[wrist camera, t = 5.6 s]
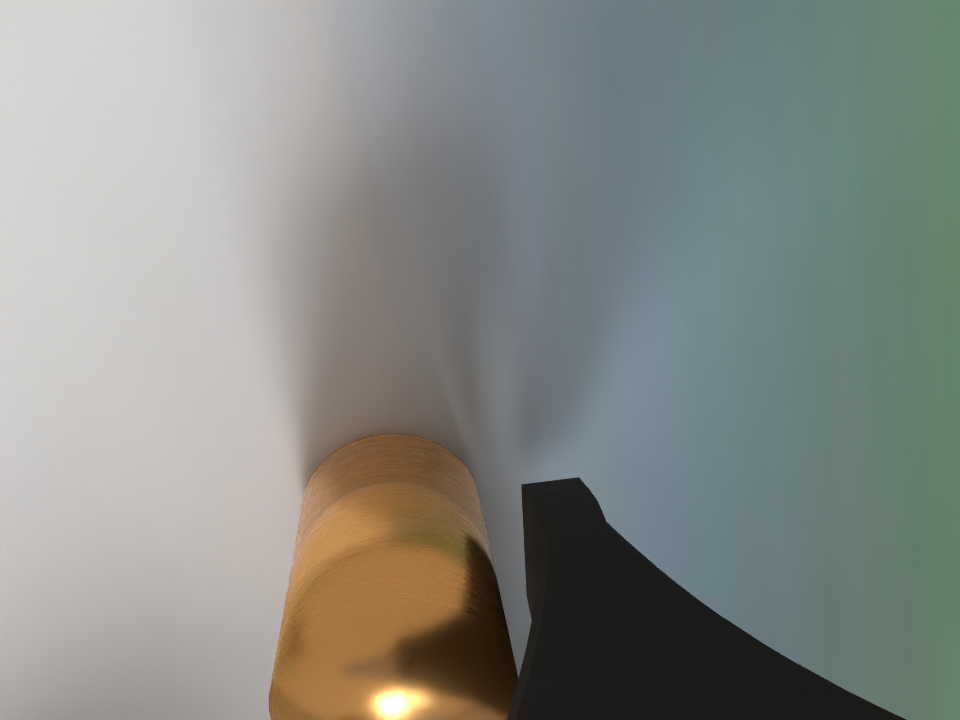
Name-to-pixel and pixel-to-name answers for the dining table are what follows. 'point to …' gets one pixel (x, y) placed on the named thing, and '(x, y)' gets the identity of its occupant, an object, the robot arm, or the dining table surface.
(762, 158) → the dining table surface
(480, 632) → the gold-tipped lever
